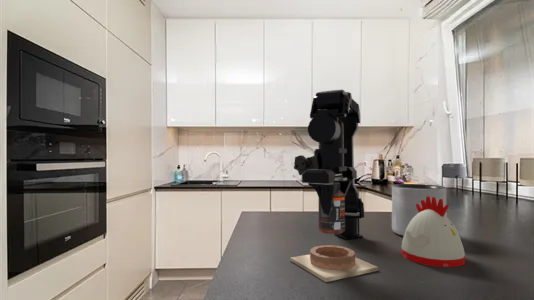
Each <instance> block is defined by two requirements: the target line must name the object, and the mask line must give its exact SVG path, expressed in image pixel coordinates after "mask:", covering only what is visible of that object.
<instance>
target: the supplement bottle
mask: <svg viewBox="0 0 534 300" xmlns="http://www.w3.org/2000/svg"><path fill="white" fill-rule="evenodd" d="M334 184H338V186H337V189H336V192H335V196H334V199H333V202H332V206H331V209H330V212H329V214H324V213H323V210H322V207H321V203H320V200H319V197H318V196H317V197H318V230H319V232H321V233H323V234H328V235H334V234H340V233H343V232H344V231H345V196H344V193H343V192H341V190H340V183H338V182H334Z"/></svg>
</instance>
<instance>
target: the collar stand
mask: <svg viewBox="0 0 534 300" xmlns="http://www.w3.org/2000/svg"><path fill="white" fill-rule="evenodd" d="M290 262H291V263H293V264H295V265H297V266H298V267H300V268H302V269H303V270H305V271H306V272H308V273H310V274H312V275H313V276H315V277H317V278H318V279H319V280H321V281H323V282H325V283H328V282H333V281H337V280H341V279H347V278H352V277H356V276H360V275H364V274H369V273H374V272H378V271H379V266H376V265H374V264H373V263H372V264H371V263H369V262H367V261H364V260H362V259H361V258H358V257H356V253H355V251H354V249H351V248H348V247H346V246H341V245H331V244H330V245H329V244H328V245H324V244H323V245H316V246H314V247H312V248H310V249H309V254H305V255H298V256H293V257H292V256H291V257H290Z"/></svg>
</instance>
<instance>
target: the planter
mask: <svg viewBox="0 0 534 300" xmlns="http://www.w3.org/2000/svg"><path fill="white" fill-rule="evenodd" d="M428 196H429V197H430V200H431V203H432V197H435V199H436V203H437V205H438V202H439V199H443V208H444V207H445V205H448V204H447V187H446V186H444V185H436V184H422V183H421V184H419V183H399V184H398V183H397V184H393V185H391V231H393V233H395V234H397V235H399V236H401V237H404V234H405V231H406V229H407V226H408V224H409V223H410V221H411V220H412V219H413V218H414V217H415V216H416V215H417V214H418V213H419V212H418V210H417V207H416V204H419V205H420V207H421V208H422V205H421V200H424V201H425V203H426V197H428ZM445 216H446V217H447V218H448V210H447V211H446V213H445Z"/></svg>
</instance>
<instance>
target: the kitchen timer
mask: <svg viewBox="0 0 534 300" xmlns="http://www.w3.org/2000/svg"><path fill="white" fill-rule="evenodd" d="M421 205H422V208H421V207H420V205H419V204H416V207H417V210H418V212H419V213H418V214H417V215H416V216H415V217H414V218H413V219H412V220H411V221H410V223H409V224H408V226H407V229H406V231H405V234H404V236H402V237H403V238H402V241H401V249H400V250H401V255H402V257H403V258H405V259H406V260H408V261H411V262H414V263H417V264H421V265H425V266H431V267H439V268H454V267H455V268H456V267H460V266H464V265H465V264H466V253H465V249H464V246H463V245H464V244H463V243H462V240H461V237H460V235H459V232H458V230H457V228H456V227H455V225H454V224H453V222H452V221H451V220H450V218H448V216H447V217H446V216H445V213H446V211H447V212H448V209H449V204H447V205H445V207H444V208H443V199H439V202H438V205H437V203H436V199H435V197H432V203H431V200H430V197H429V196H428V197H426V203H425V201H424V200H421Z"/></svg>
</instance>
